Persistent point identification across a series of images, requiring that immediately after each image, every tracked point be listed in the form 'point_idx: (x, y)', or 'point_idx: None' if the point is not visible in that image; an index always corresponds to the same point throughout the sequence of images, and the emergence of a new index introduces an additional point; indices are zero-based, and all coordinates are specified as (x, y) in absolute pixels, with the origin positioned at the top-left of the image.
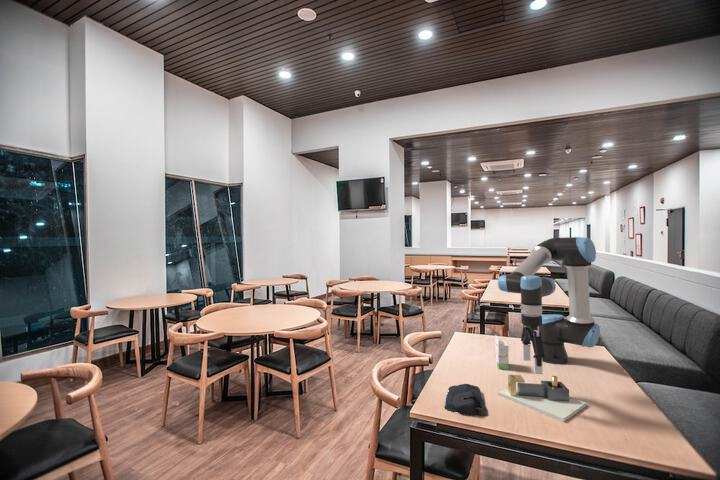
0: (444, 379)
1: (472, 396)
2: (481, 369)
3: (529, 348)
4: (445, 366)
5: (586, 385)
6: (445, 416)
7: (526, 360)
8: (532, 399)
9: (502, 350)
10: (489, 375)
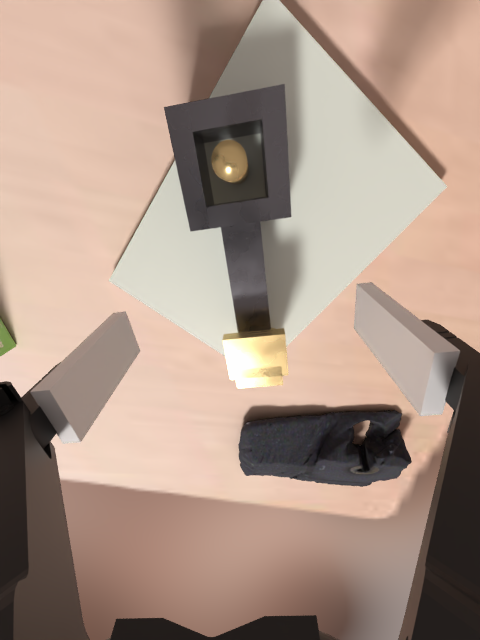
0: (194, 480)
1: (358, 460)
2: None
3: (74, 373)
4: (97, 477)
5: None
6: (403, 480)
7: (134, 336)
8: (290, 276)
9: None
10: None
